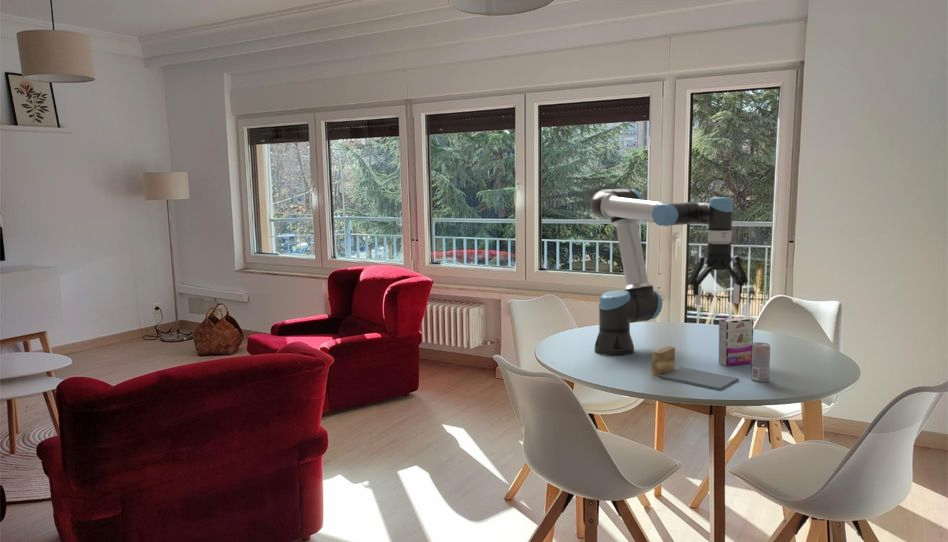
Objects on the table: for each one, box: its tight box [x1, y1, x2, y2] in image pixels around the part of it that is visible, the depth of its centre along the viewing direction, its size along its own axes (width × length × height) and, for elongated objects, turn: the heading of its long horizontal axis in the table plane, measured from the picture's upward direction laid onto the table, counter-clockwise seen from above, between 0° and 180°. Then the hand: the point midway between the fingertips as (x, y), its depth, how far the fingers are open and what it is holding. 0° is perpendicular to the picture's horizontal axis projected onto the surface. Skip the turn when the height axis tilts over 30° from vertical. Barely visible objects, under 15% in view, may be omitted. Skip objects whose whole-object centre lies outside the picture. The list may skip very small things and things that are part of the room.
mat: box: [661, 366, 740, 391], centre depth 207 cm, size 20×14×1 cm
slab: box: [651, 345, 676, 377], centre depth 216 cm, size 3×10×8 cm, turn 135°
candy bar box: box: [718, 316, 754, 367], centre depth 224 cm, size 11×5×16 cm, turn 105°
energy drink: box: [750, 342, 771, 383], centre depth 204 cm, size 5×5×12 cm
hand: (716, 303), depth 216 cm, fingers open, 13 cm apart
